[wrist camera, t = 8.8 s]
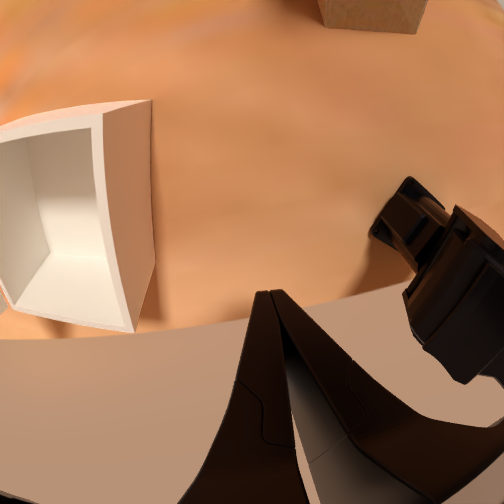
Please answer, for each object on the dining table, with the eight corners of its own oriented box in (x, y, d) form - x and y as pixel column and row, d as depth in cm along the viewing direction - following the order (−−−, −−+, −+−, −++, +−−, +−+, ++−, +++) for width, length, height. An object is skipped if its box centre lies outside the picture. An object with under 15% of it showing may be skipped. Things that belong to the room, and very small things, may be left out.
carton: (152, 99, 16) (102, 113, 9) (155, 262, 23) (134, 333, 17) (25, 116, 14) (-41, 145, 7) (50, 254, 22) (12, 309, 15)
